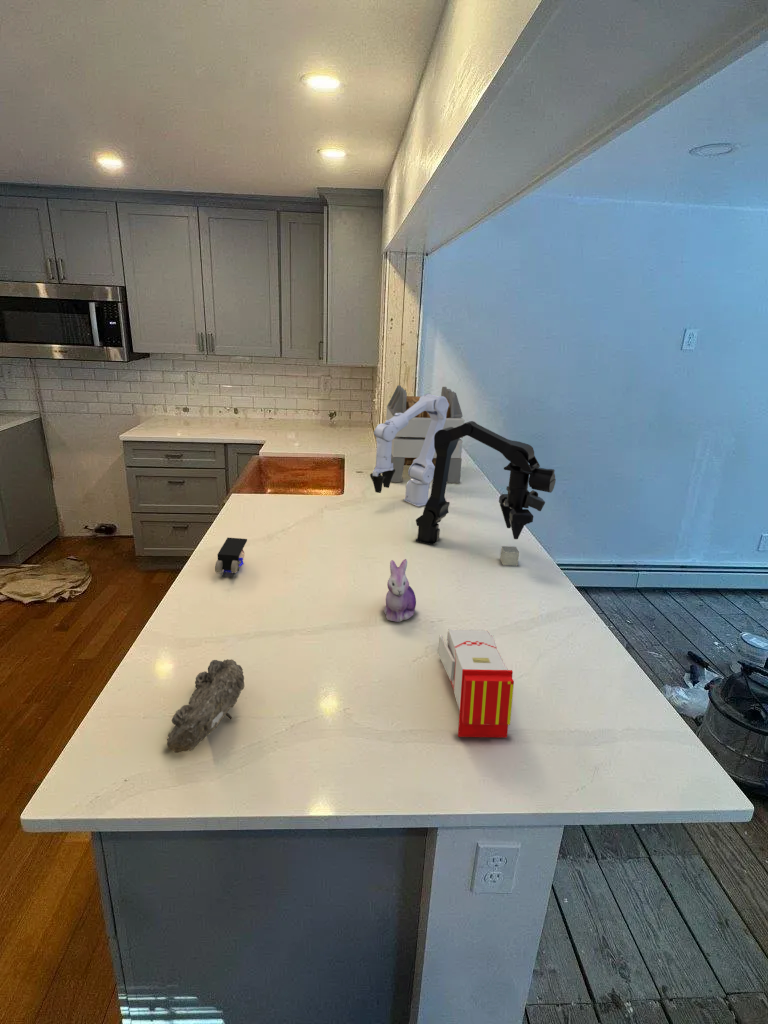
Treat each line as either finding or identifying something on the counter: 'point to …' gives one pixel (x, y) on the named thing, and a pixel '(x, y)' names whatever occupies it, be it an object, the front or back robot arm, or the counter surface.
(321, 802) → the counter surface
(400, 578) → the figurine
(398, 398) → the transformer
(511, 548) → the block
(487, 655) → the toy
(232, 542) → the black wheeled box
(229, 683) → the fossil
